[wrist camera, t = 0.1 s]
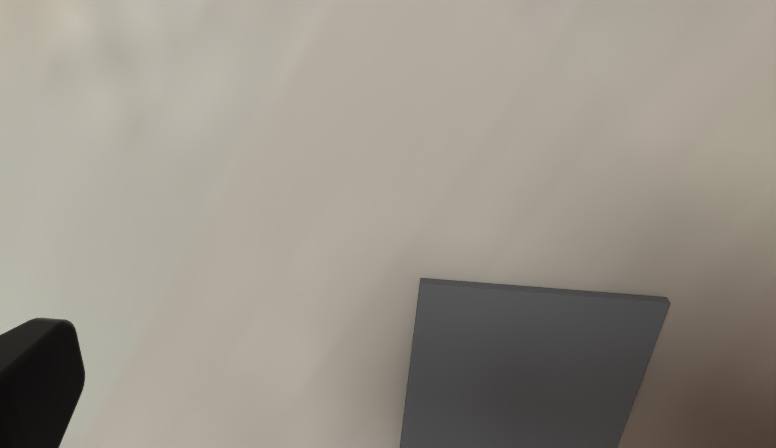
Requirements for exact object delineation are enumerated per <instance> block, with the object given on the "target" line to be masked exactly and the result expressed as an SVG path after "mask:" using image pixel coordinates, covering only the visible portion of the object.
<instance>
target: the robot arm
mask: <svg viewBox="0 0 776 448" xmlns="http://www.w3.org/2000/svg"><path fill="white" fill-rule="evenodd" d="M84 381H85V370H84V365H83V360H82V356H81V351H80V347H79V342H78V337H77V333H76V329H75V327H74V325H73V324H72V323H71V322H70V321H68V320H63V319H50V318H35V319H32V320H29V321H27V322H25V323H23V324H21V325H19V326H17V327H15V328H13V329H11V330H9V331H7V332H5V333H4V334H2V335H0V448H59V446H60V443H61V441H62V439H63V436H64V434H65V431H66V429H67V427H68V424H69V422H70V419H71V417H72V415H73V412H74V410H75V407H76V405H77V403H78V400H79V398H80V395H81V393H82V390H83V386H84Z"/></svg>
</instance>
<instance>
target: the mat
mask: <svg viewBox="0 0 776 448" xmlns="http://www.w3.org/2000/svg"><path fill="white" fill-rule="evenodd" d="M669 305H670V302H669V301H668V299H667V298H666V297H655V296H642V295H630V294H617V293H604V292H591V291H579V290H566V289H553V288H541V287H528V286H515V285H503V284H490V283H477V282H464V281H452V280H439V279H426V278H420V286H419V294H418V302H417V311H416V319H415V327H414V335H413V343H412V352H411V360H410V368H409V376H408V384H407V393H406V401H405V409H404V417H403V425H402V434H401V442H400V448H617V446H618V443H619V440H620V438H621V435H622V432H623V429H624V427H625V424H626V421H627V419H628V416H629V413H630V410H631V408H632V405H633V402H634V400H635V397H636V394H637V392H638V389H639V386H640V383H641V381H642V378H643V375H644V373H645V370H646V367H647V364H648V362H649V359H650V356H651V354H652V351H653V348H654V346H655V343H656V340H657V337H658V335H659V332H660V329H661V327H662V324H663V321H664V318H665V316H666V313H667V310H668V308H669Z"/></svg>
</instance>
